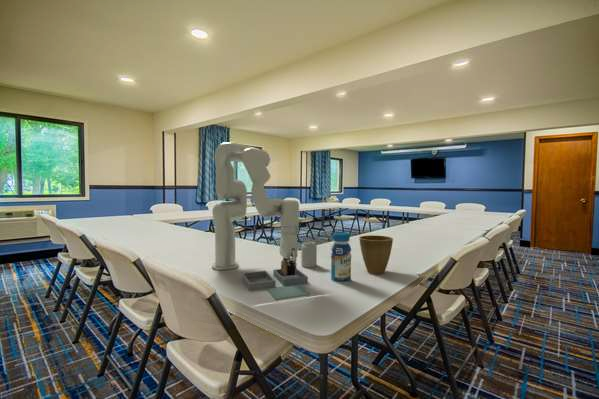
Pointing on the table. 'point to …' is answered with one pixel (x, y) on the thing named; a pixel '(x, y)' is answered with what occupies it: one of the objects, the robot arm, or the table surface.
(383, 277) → the table surface
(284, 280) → the bin
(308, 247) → the can
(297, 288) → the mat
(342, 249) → the beverage bottle
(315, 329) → the table surface
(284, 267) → the letter cube
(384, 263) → the plant pot
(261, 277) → the bin
